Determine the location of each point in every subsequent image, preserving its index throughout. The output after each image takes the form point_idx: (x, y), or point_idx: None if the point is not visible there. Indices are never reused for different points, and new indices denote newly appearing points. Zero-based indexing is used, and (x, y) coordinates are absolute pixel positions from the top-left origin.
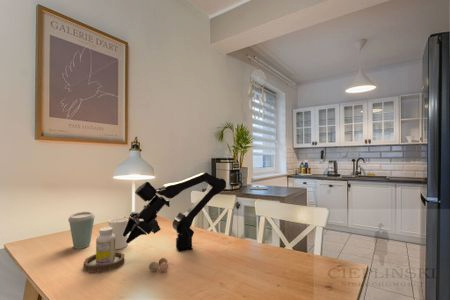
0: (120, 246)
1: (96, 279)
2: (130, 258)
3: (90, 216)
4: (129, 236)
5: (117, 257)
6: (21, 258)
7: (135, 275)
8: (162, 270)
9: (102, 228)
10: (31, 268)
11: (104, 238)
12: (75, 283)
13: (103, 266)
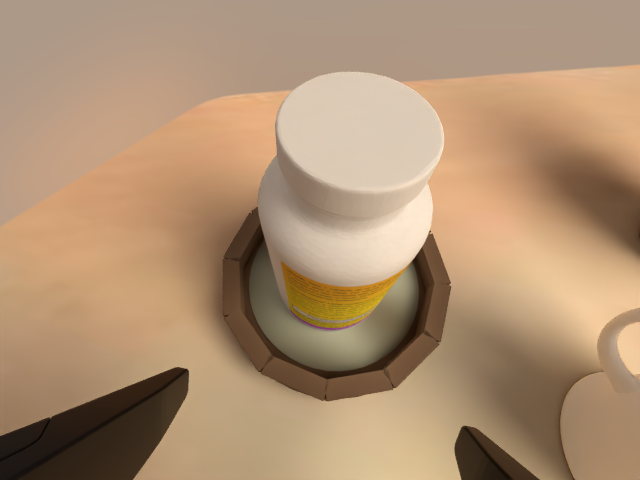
0: (578, 456)
1: (192, 215)
2: (318, 449)
3: None
4: (96, 402)
5: (358, 360)
6: (577, 74)
7: (52, 376)
8: None
9: (407, 102)
10: (460, 86)
11: (276, 159)
12: (225, 157)
13: (234, 240)
